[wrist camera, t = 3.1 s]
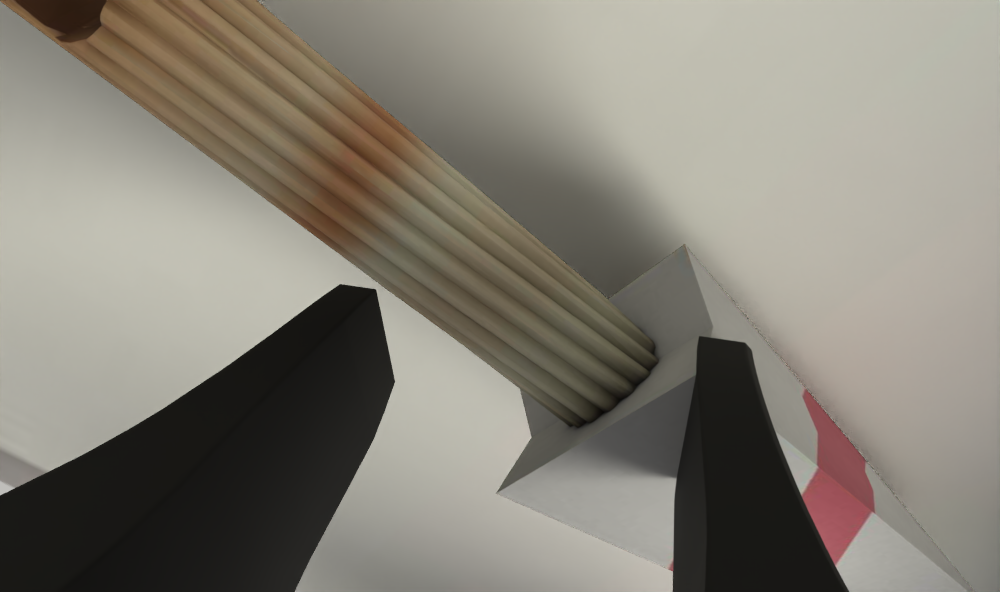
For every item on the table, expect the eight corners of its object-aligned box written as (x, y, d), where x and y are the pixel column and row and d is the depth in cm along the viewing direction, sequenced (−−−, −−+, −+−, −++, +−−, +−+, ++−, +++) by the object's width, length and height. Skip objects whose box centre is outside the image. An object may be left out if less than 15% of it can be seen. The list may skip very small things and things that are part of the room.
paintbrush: (850, 734, 14) (-258, -19, 7) (817, 603, 16) (-58, -75, 9) (1059, 685, 12) (-178, -423, 5) (991, 544, 14) (52, -376, 7)
